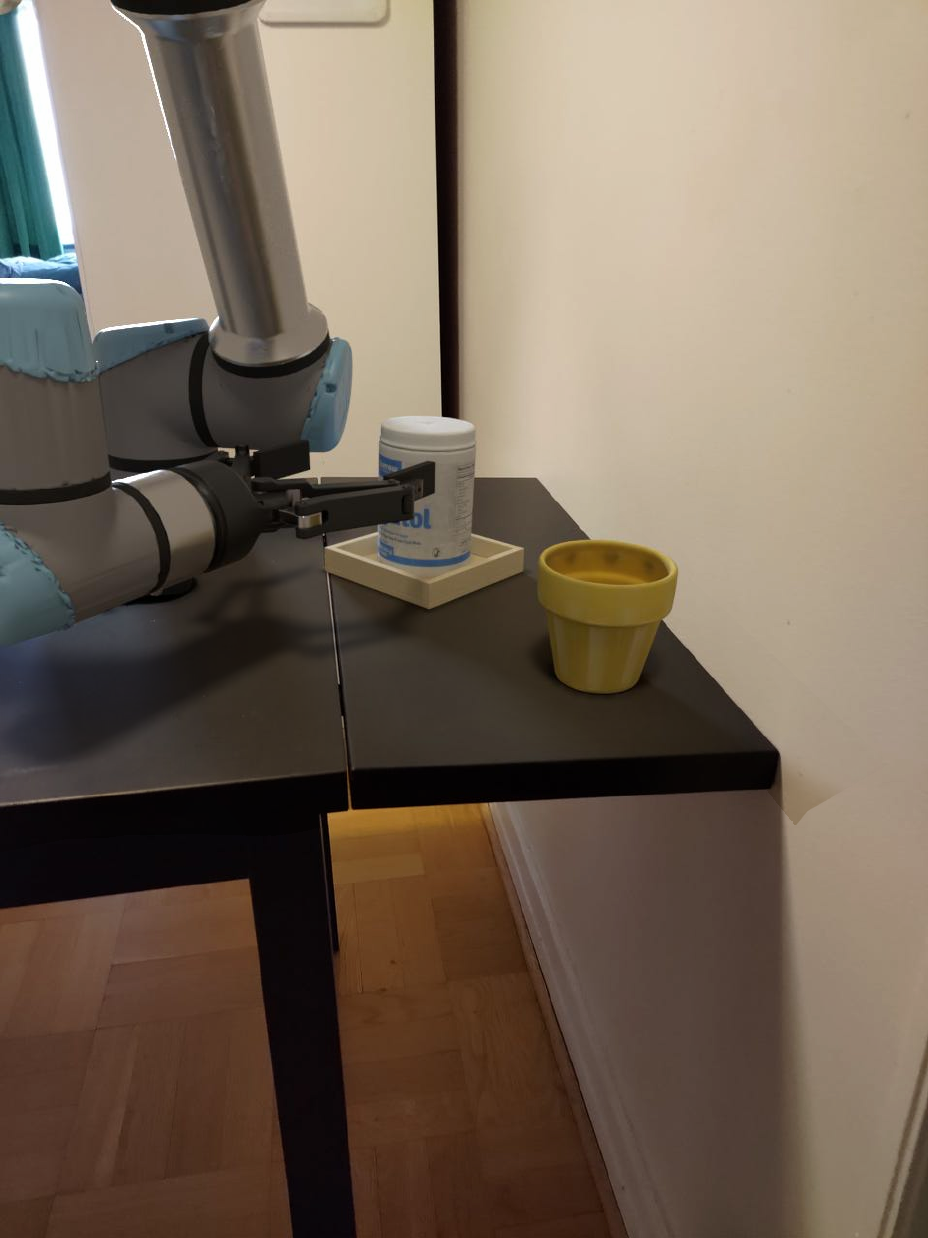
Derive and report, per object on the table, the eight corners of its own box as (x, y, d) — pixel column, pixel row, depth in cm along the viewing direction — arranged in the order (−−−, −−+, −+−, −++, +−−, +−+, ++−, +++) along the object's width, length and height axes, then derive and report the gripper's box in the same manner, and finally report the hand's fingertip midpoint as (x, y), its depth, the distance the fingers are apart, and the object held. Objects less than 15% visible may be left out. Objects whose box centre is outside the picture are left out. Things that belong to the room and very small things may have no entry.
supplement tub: (363, 574, 85) (361, 427, 79) (397, 547, 94) (397, 411, 88) (455, 587, 83) (460, 436, 77) (482, 558, 91) (488, 419, 85)
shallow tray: (325, 571, 88) (324, 547, 87) (421, 540, 98) (421, 518, 97) (429, 609, 79) (429, 583, 78) (523, 571, 89) (524, 548, 88)
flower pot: (594, 721, 61) (608, 594, 57) (504, 667, 69) (511, 552, 65) (689, 685, 67) (707, 567, 63) (597, 638, 74) (608, 531, 70)
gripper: (71, 541, 65) (262, 484, 82) (326, 614, 54) (488, 531, 71) (55, 444, 62) (257, 406, 79) (322, 499, 51) (492, 441, 68)
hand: (366, 465), depth 75 cm, fingers open, 13 cm apart
